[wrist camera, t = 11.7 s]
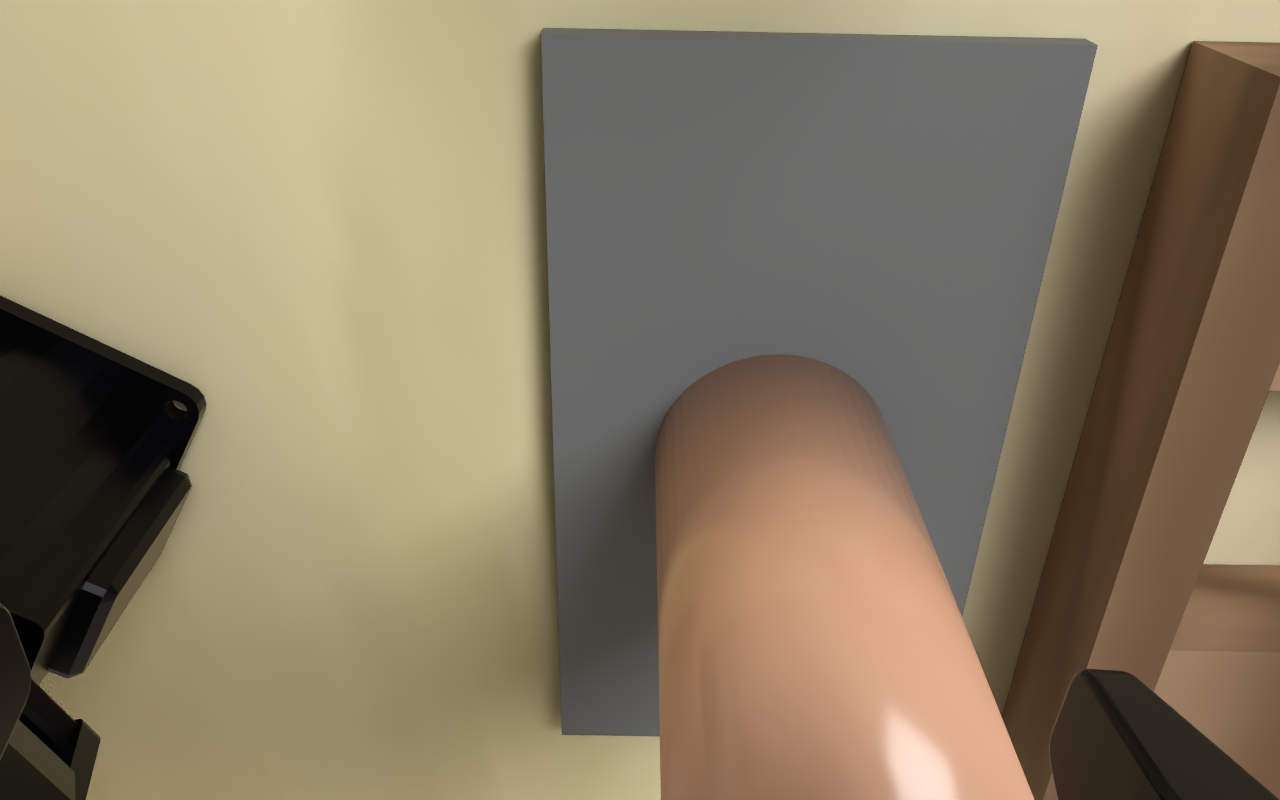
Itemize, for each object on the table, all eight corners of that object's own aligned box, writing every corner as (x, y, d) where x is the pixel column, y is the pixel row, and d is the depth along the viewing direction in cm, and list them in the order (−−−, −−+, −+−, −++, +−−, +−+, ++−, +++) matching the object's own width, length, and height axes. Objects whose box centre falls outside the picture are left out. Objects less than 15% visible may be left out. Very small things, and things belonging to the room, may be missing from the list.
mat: (563, 717, 28) (561, 734, 27) (543, 28, 19) (540, 34, 18) (927, 722, 28) (932, 740, 27) (1084, 38, 19) (1097, 45, 18)
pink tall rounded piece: (612, 489, 23) (590, 964, 13) (738, 312, 21) (819, 733, 11) (797, 580, 24) (897, 1071, 15) (935, 423, 22) (1157, 883, 13)
